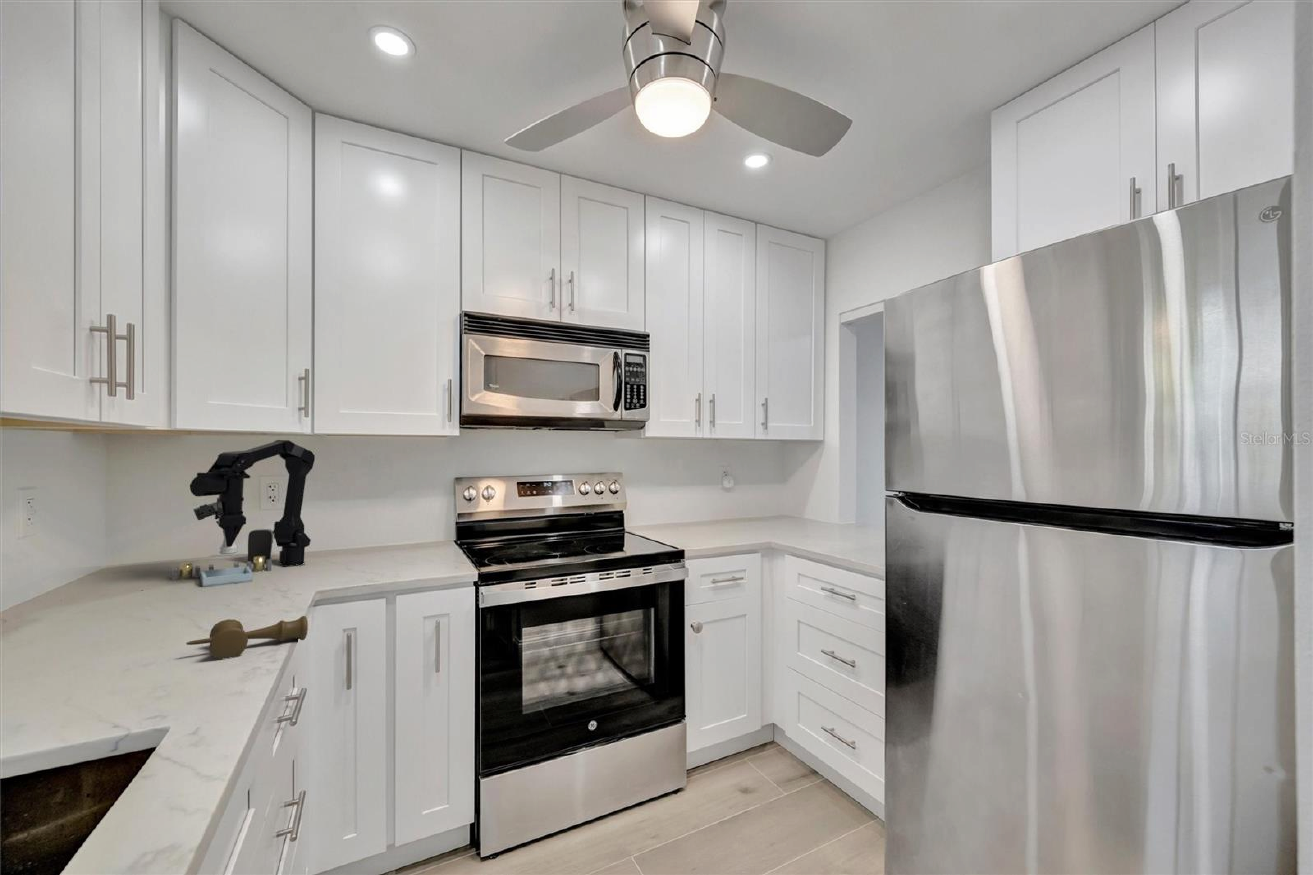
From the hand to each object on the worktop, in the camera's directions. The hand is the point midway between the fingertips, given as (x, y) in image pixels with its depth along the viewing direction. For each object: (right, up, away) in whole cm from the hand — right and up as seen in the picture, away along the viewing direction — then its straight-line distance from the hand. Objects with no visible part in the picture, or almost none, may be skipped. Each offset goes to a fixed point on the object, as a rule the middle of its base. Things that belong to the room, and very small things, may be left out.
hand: (228, 545), depth 164 cm
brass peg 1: (-14, -10, +1) cm, 17 cm away
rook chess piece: (0, -2, 0) cm, 2 cm away
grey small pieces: (-7, -10, +7) cm, 14 cm away
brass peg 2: (-1, -11, +13) cm, 17 cm away
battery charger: (-9, -11, +25) cm, 29 cm away
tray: (0, -10, 0) cm, 10 cm away
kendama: (+45, -11, -52) cm, 70 cm away
